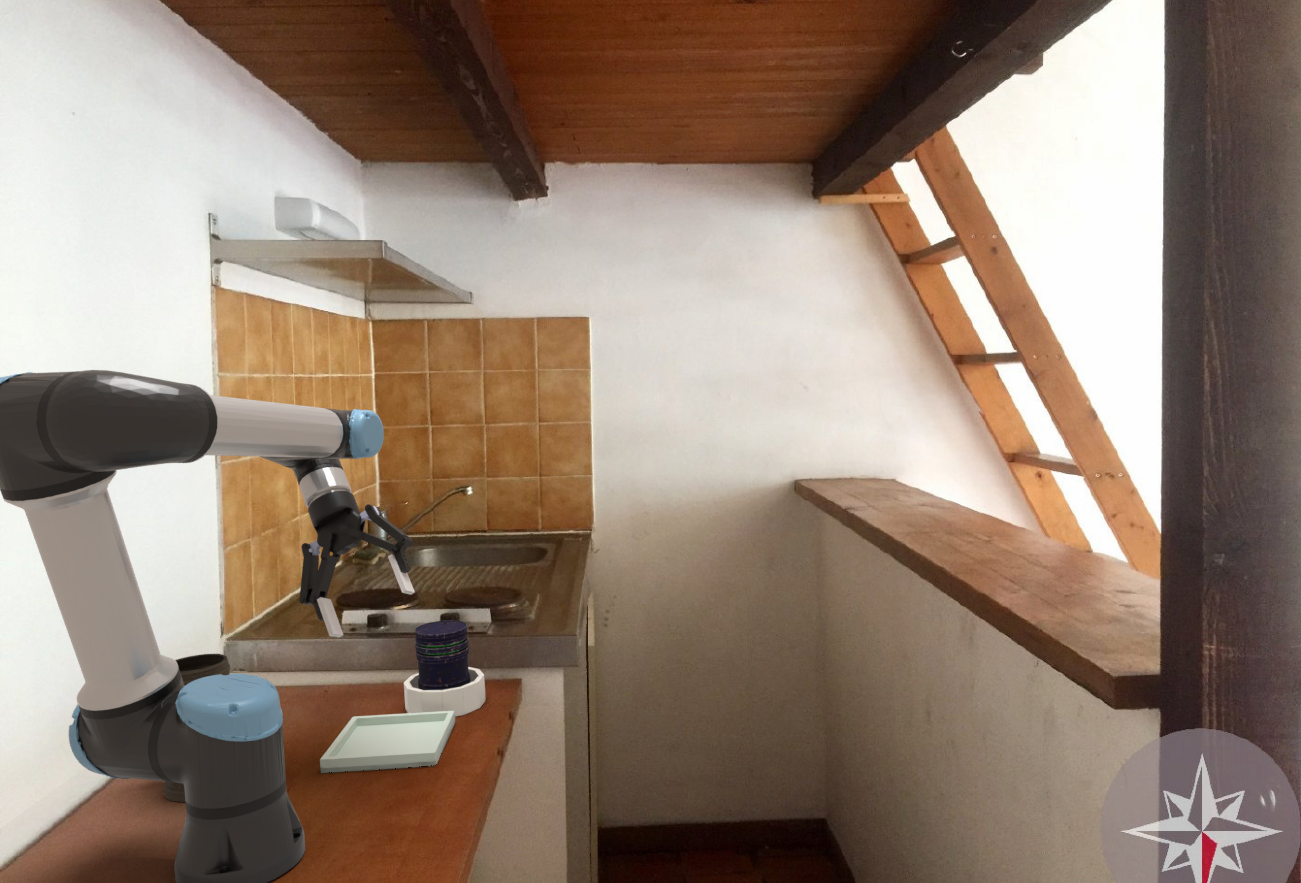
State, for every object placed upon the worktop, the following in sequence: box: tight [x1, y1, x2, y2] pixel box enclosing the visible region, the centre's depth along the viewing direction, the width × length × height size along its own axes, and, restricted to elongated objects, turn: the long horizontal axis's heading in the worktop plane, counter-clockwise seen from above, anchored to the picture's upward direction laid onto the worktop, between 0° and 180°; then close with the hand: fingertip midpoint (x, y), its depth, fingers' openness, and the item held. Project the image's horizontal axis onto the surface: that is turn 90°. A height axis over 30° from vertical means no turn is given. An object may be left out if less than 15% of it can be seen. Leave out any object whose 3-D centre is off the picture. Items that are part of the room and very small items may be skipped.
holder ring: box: [403, 666, 487, 718], centre depth 166 cm, size 14×14×5 cm
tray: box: [319, 711, 456, 774], centre depth 147 cm, size 18×18×2 cm
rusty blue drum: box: [414, 619, 471, 690], centre depth 166 cm, size 10×10×15 cm
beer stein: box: [163, 653, 231, 803], centre depth 135 cm, size 15×11×20 cm
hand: (372, 614), depth 137 cm, fingers open, 13 cm apart
